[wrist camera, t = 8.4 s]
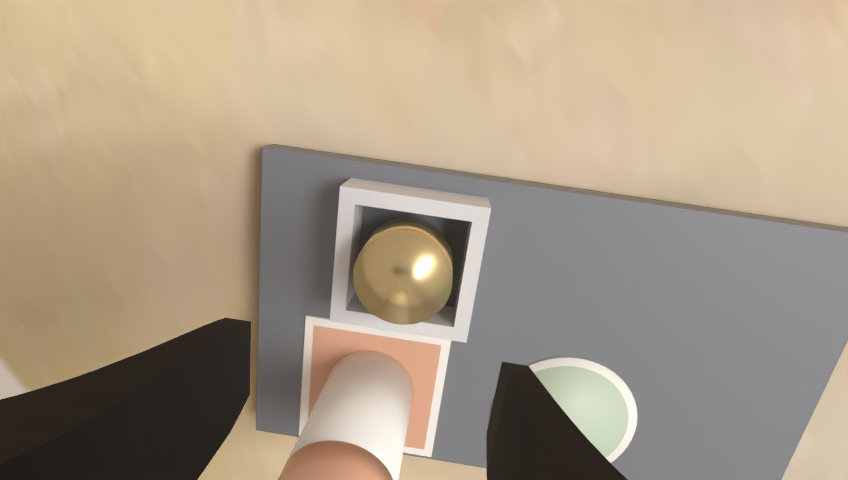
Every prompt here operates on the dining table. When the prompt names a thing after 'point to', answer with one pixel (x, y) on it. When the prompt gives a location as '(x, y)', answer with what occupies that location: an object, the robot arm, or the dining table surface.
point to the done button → (404, 271)
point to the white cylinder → (356, 422)
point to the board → (558, 313)
